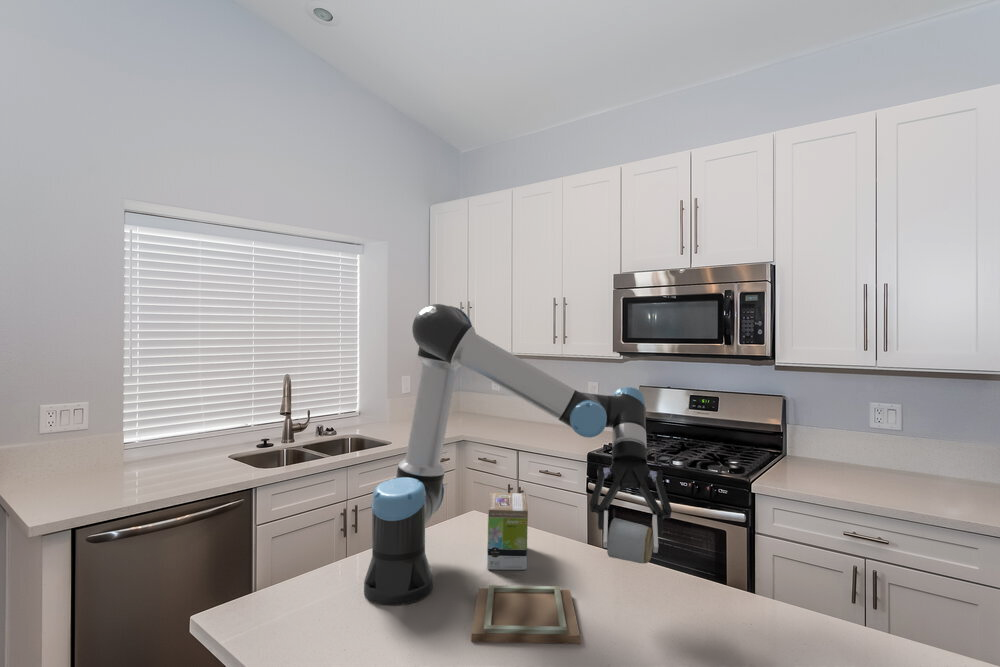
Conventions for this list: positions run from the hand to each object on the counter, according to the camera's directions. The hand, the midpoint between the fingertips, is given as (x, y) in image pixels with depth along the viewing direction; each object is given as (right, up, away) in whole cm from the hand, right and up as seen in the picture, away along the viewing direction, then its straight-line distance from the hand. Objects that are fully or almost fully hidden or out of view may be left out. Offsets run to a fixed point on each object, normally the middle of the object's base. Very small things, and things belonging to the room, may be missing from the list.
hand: (630, 547), depth 105 cm
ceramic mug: (+1, -4, +5) cm, 7 cm away
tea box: (-23, -16, +33) cm, 43 cm away
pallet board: (-20, -16, +4) cm, 26 cm away
